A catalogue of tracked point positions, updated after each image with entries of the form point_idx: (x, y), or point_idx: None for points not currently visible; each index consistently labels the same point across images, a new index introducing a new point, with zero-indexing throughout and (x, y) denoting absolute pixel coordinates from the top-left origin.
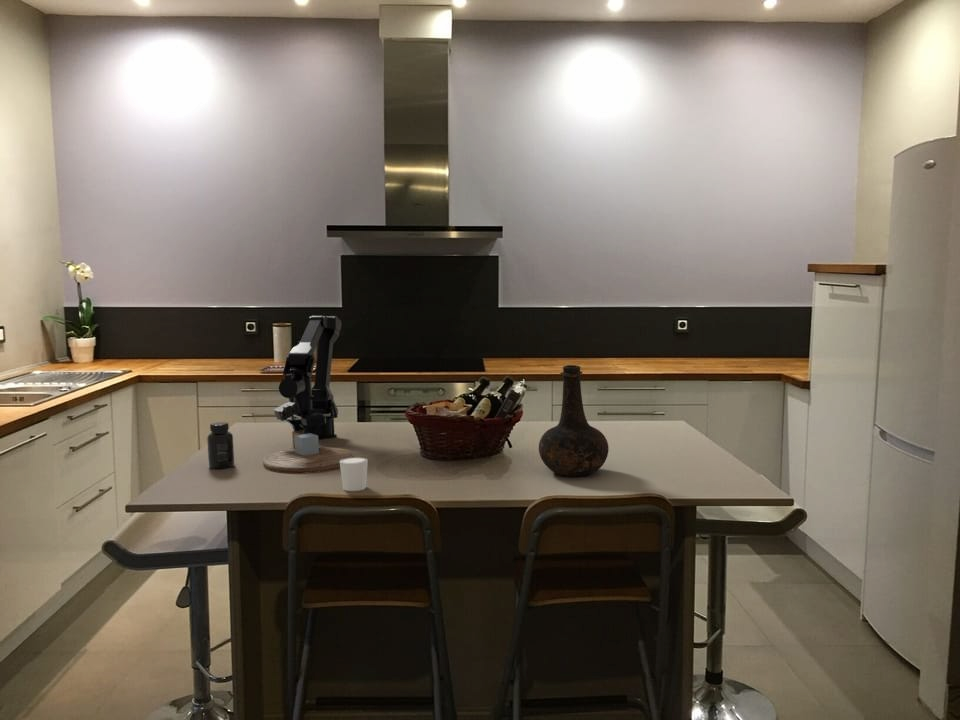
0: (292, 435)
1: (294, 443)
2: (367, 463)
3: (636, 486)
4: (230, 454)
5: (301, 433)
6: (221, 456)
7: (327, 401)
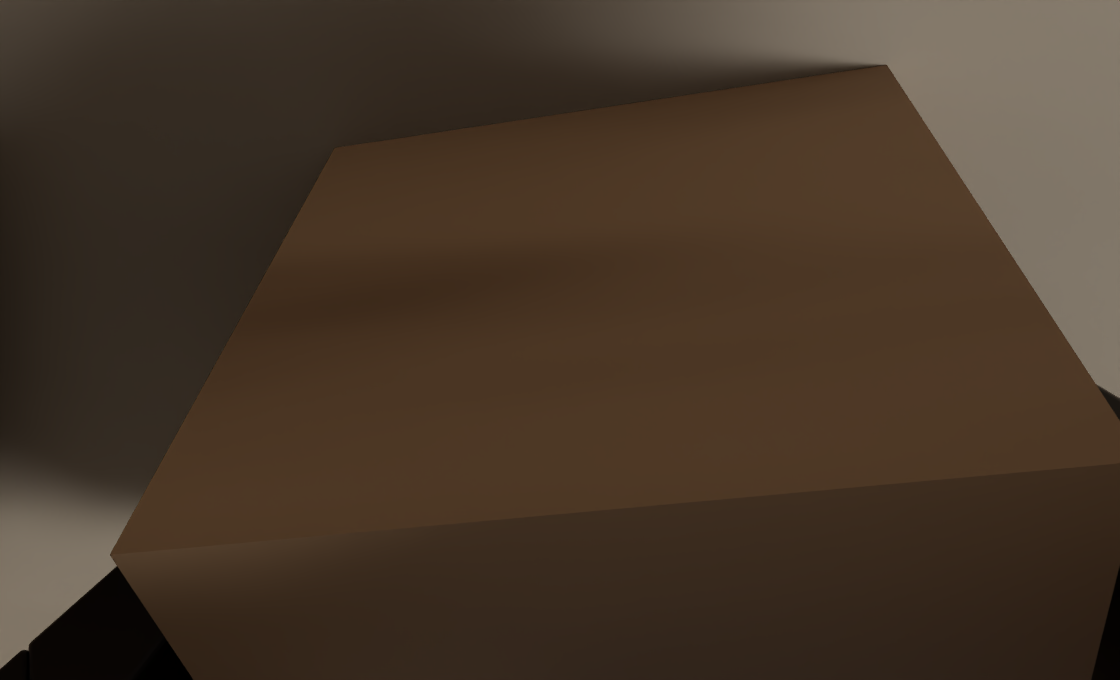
0: (1030, 307)
1: (756, 157)
2: None
3: None
4: None
5: (227, 645)
6: None
7: None
